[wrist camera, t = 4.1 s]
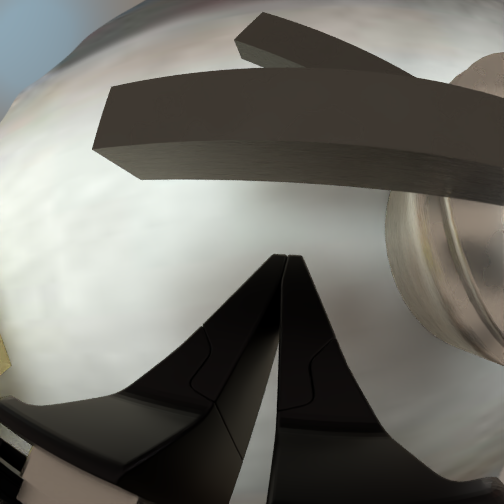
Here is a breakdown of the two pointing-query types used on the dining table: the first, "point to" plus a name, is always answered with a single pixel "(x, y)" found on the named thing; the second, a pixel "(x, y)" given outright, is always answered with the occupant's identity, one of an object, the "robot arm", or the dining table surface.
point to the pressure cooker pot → (399, 204)
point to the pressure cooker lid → (334, 144)
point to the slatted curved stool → (3, 358)
